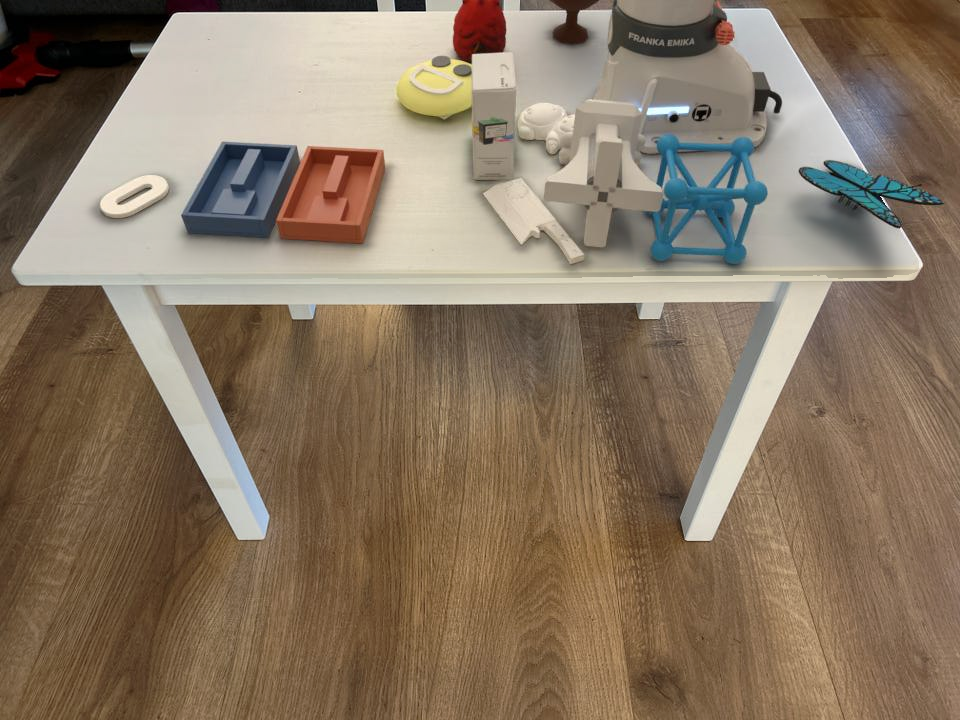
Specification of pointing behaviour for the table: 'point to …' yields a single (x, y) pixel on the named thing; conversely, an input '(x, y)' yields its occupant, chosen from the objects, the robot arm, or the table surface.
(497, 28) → the red clay folk toy
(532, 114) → the astronaut figurine
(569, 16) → the ice cream bowl
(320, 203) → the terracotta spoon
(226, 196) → the paddle
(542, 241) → the table surface
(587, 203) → the toy gun turret
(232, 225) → the blue tray
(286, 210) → the terracotta tray
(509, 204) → the cleaver
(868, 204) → the butterfly
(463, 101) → the emoji
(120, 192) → the chain link
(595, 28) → the table surface
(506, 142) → the ink box
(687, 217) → the molecular structure
